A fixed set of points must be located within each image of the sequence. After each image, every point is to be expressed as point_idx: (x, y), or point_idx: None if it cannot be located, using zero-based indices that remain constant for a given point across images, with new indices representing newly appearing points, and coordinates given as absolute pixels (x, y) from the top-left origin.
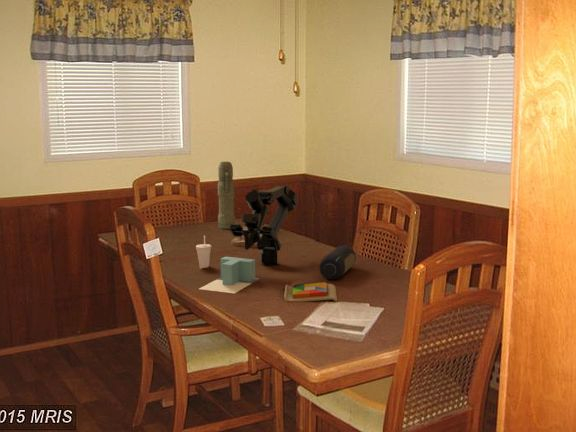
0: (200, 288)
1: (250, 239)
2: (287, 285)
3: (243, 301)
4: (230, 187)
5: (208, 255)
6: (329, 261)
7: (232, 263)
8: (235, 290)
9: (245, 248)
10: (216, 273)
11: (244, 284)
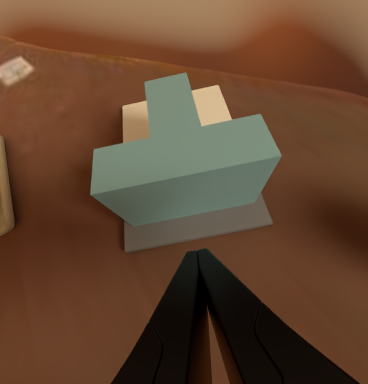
0: (217, 89)
1: (157, 346)
2: (3, 214)
3: (89, 98)
4: None
5: None
6: None
7: (154, 95)
8: (131, 119)
9: (201, 249)
10: (342, 240)
11: None
